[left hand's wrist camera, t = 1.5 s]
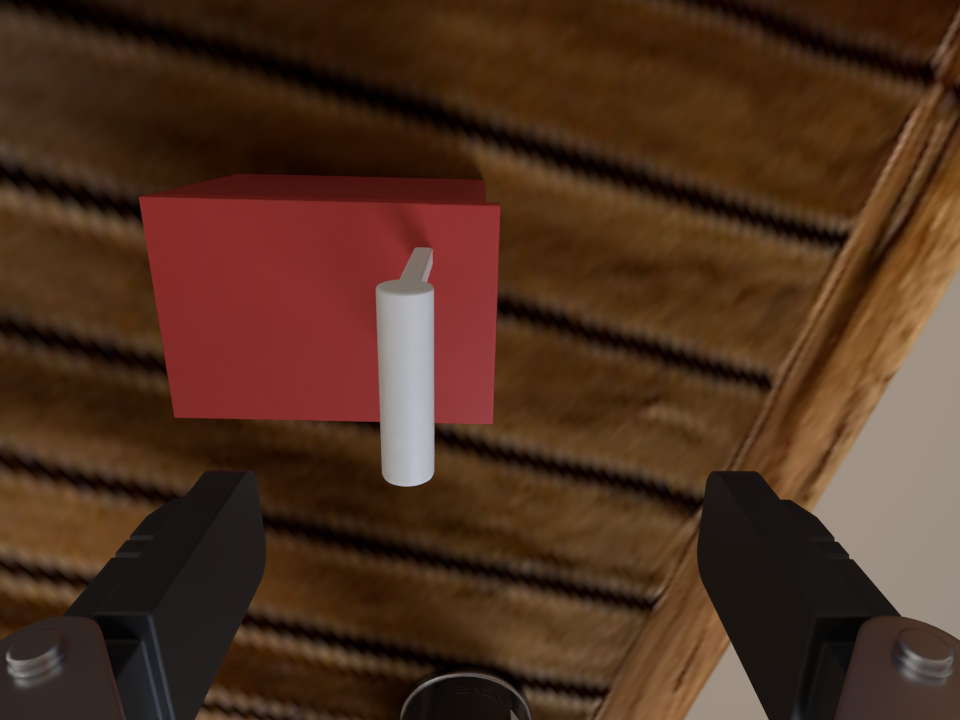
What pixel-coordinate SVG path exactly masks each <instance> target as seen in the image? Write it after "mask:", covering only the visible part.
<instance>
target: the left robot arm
mask: <svg viewBox="0 0 960 720" xmlns="http://www.w3.org/2000/svg"><path fill="white" fill-rule="evenodd" d="M697 560H698V568H699V573H700V577H701V580H702V582H703V585H704V587H705V589H706V591H707V593H708V595H709V597H710V599H711V601H712V603H713V605H714V607H715V609H716V611H717V613H718V616H719V618H720V620H721V622H722V624H723V626H724V628H725V630H726V632H727V634H728V636H729V638H730V640H731V642H732V644H733V647H734V649H735V651H736V653H737V655H738V657H739V659H740V661H741V663H742V665H743V667H744V669H745V671H746V673H747V675H748V677H749V680H750V682H751V684H752V686H753V688H754V690H755V692H756V694H757V696H758V698H759V700H760V702H761V704H762V706H763V708H764V710H765V713H766V715H767V717H768V719H769V720H960V640H958V639H957V638H955V637H953V636H952V635H950V634H948V633H947V632H945V631H943V630H941V629H939V628H937V627H934V626H932V625H930V624H927V623H924V622H921V621H918V620H915V619H911V618H906V617H902V616H901V615H900V614H899V613H898V612H897V610H896V609H895V608H894V607H893V606H892V605H891V603H890V602H889V601H888V600H887V599H886V598H885V596H884V595H883V594H882V593H881V592H880V591H879V589H878V588H877V587H876V586H875V585H874V583H873V582H872V581H871V580H870V579H869V578H868V576H867V575H866V574H865V573H864V572H863V571H862V569H861V568H860V567H859V566H858V565H857V564H856V562H855V561H854V560H853V559H849V554H848V553H847V552H846V551H845V550H844V548H843V547H842V546H841V545H840V544H839V542H835V540H834V537H833V536H832V534H831V533H830V532H829V531H828V530H827V528H826V527H825V526H824V525H823V524H822V523H821V521H820V520H819V519H818V518H817V517H816V516H814V515H813V514H811V513H810V512H808V511H807V510H805V509H803V508H802V507H800V506H799V505H797V504H796V503H794V502H793V501H791V500H780V499H779V498H778V496H777V495H776V494H775V493H774V491H773V490H772V489H771V488H770V486H769V485H768V484H767V482H766V481H765V480H764V479H763V477H762V476H761V475H760V474H759V473H758V472H755V471H713V472H711V473H710V474H709V476H708V479H707V482H706V488H705V495H704V502H703V509H702V516H701V523H700V531H699V538H698V545H697ZM265 561H266V542H265V534H264V527H263V520H262V513H261V506H260V499H259V491H258V484H257V479H256V476H255V474H254V473H253V471H251V470H208V471H206V472H205V473H204V474H203V475H202V476H201V477H200V479H199V480H198V481H197V482H196V484H195V485H194V486H193V488H192V489H191V490H190V491H189V493H188V494H187V495H186V496H185V498H184V499H172V500H171V501H169V502H168V503H166V504H165V505H163V506H162V507H160V508H159V509H157V510H156V511H154V512H152V513H151V514H149V515H148V516H147V517H146V518H145V519H144V520H143V521H142V523H141V524H140V525H139V526H138V527H137V529H136V530H135V531H134V532H133V533H132V534H131V536H130V540H126V542H125V543H124V544H123V545H122V546H121V547H120V549H119V550H118V551H117V552H116V556H115V558H111V559H110V560H109V562H108V563H107V564H106V565H105V566H104V568H103V569H102V570H101V571H100V572H99V573H98V575H97V576H96V577H95V578H94V579H93V581H92V582H91V583H90V584H89V585H88V586H87V588H86V589H85V590H84V591H83V592H82V594H81V595H80V596H79V597H78V598H77V599H76V601H75V602H74V603H73V604H72V605H71V607H70V608H69V609H68V610H67V611H66V612H65V614H64V615H63V616H60V617H54V618H49V619H45V620H42V621H39V622H36V623H33V624H30V625H28V626H26V627H23V628H21V629H19V630H17V631H15V632H13V633H11V634H10V635H8V636H7V637H5V638H3V639H2V640H0V720H195V718H196V716H197V714H198V712H199V709H200V707H201V705H202V703H203V701H204V699H205V697H206V695H207V693H208V691H209V689H210V686H211V684H212V682H213V680H214V678H215V676H216V674H217V672H218V670H219V668H220V666H221V663H222V661H223V659H224V657H225V655H226V653H227V651H228V649H229V647H230V645H231V643H232V640H233V638H234V636H235V634H236V632H237V630H238V628H239V626H240V624H241V622H242V620H243V617H244V615H245V613H246V611H247V609H248V607H249V605H250V603H251V601H252V599H253V597H254V594H255V592H256V590H257V588H258V586H259V584H260V582H261V579H262V576H263V573H264V568H265ZM400 720H531V713H530V706H529V703H528V700H527V698H526V696H525V695H524V693H523V692H522V691H521V689H520V688H519V687H518V686H517V685H516V684H515V683H513V682H512V681H511V680H509V679H508V678H506V677H505V676H503V675H501V674H498V673H496V672H493V671H490V670H487V669H483V668H477V667H454V668H448V669H444V670H440V671H437V672H435V673H432V674H430V675H428V676H426V677H425V678H423V679H421V680H420V681H419V682H417V683H416V684H415V685H414V686H413V687H412V688H411V689H410V690H409V692H408V693H407V695H406V697H405V699H404V701H403V704H402V708H401V715H400Z"/></svg>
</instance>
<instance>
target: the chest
mask: <svg viewBox="0 0 960 720" xmlns="http://www.w3.org/2000/svg"><path fill="white" fill-rule="evenodd" d="M153 194H170V195H212V196H253V197H294V198H336V199H377V200H418V201H460V202H486V193H485V182H484V180H478V179H437V178H397V177H356V176H315V175H274V174H234V175H230V176H225V177H221V178H217V179H212V180H208V181H204V182H200V183H195V184H191V185H187V186H183V187H178V188H174V189H170V190H166V191H161V192H157V193H153Z"/></svg>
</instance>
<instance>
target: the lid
mask: <svg viewBox="0 0 960 720" xmlns="http://www.w3.org/2000/svg"><path fill="white" fill-rule="evenodd" d="M139 201H140V208H141V214H142V220H143V226H144V232H145V238H146V245H147V251H148V257H149V263H150V269H151V275H152V282H153V288H154V294H155V300H156V306H157V313H158V319H159V325H160V331H161V337H162V343H163V350H164V356H165V362H166V368H167V374H168V380H169V387H170V393H171V399H172V405H173V411H174V417H176V418H223V419H272V420H320V421H369V422H380V427H381V456H382V474H383V477H384V478H385V480H386V481H388V482H389V483H391V484H394V485H398V486H415V485H420V484H423V483H425V482H427V481H428V480H429V479H431V477H432V476H433V474H434V423H466V424H492V423H493V408H494V379H495V350H496V321H497V292H498V263H499V234H500V203H498V202H460V201H418V200H377V199H336V198H294V197H253V196H212V195H170V194H148V195H144V196H140V197H139Z"/></svg>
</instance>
